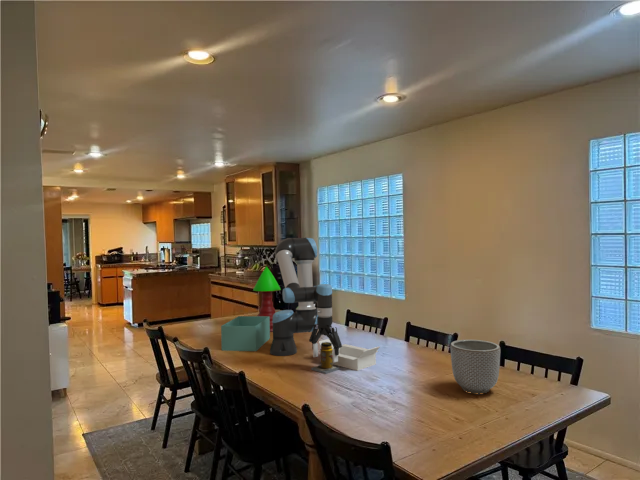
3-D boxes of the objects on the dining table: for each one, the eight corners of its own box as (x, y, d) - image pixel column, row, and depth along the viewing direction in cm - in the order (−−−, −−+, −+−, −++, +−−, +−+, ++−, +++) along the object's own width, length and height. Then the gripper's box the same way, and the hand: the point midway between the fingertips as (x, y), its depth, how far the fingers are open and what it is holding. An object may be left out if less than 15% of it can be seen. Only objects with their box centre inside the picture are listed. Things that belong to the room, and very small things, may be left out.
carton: (313, 361, 232) (313, 342, 232) (339, 353, 247) (339, 335, 247) (359, 373, 211) (358, 352, 210) (384, 364, 225) (384, 344, 225)
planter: (495, 402, 172) (495, 353, 172) (445, 393, 182) (444, 347, 182) (504, 387, 189) (504, 342, 188) (457, 379, 199) (457, 337, 199)
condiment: (336, 368, 217) (336, 343, 217) (322, 371, 213) (321, 346, 213) (327, 364, 224) (327, 340, 223) (313, 367, 219) (313, 343, 219)
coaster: (311, 369, 218) (311, 368, 218) (325, 365, 225) (325, 363, 225) (325, 373, 211) (325, 372, 211) (339, 369, 218) (339, 367, 218)
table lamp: (257, 326, 325) (256, 265, 325) (284, 326, 322) (283, 265, 322) (250, 332, 306) (248, 267, 305) (278, 332, 303) (276, 266, 302)
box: (221, 350, 258) (221, 326, 258) (238, 338, 290) (238, 316, 289) (256, 351, 255) (255, 326, 255) (269, 338, 287) (269, 316, 287)
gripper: (301, 314, 224) (302, 356, 224) (338, 320, 206) (339, 365, 206) (312, 312, 229) (313, 353, 229) (348, 317, 212) (349, 362, 212)
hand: (325, 359), depth 218 cm, fingers open, 13 cm apart
